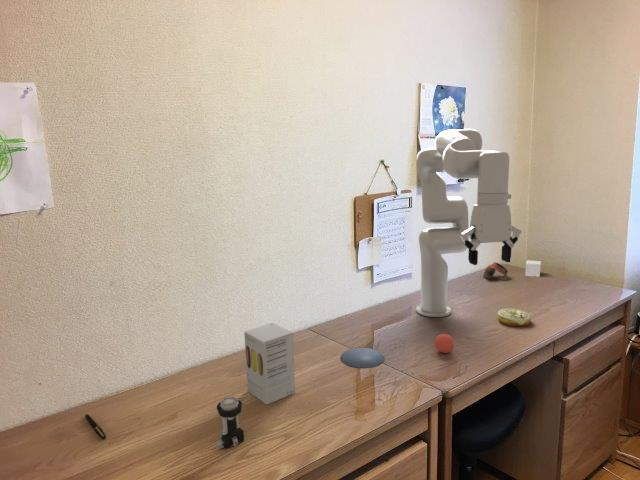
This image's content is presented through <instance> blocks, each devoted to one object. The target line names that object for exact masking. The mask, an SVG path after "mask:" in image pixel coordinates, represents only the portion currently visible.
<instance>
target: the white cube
mask: <svg viewBox="0 0 640 480" xmlns="http://www.w3.org/2000/svg"><path fill="white" fill-rule="evenodd" d="M525 262H526V263H525V275H524V276H526V277H534V276H536V278H539V277H541V265H542V261H541V260H539V261H538V260H531V259H530V260H529V259H527V260H526V261H525Z"/></svg>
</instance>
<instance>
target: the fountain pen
mask: <svg viewBox="0 0 640 480" xmlns="http://www.w3.org/2000/svg"><path fill="white" fill-rule="evenodd" d="M84 416H85V417H84V418H85V419H86V420H87V422H88V423H89V425H91V427H92V428H93V430H94V432H95V433H96V434H97V435H98V436H99V437H100V438H101V439H103V440H105V439H106V438H107V436H106V433H105V432H104V430H103V429H102V427H101V426H100V425H99V424H97V422H96V421H95V419H93V418H92V417H91V416H90V415H89V414H88V413H84Z"/></svg>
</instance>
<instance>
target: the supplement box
mask: <svg viewBox="0 0 640 480" xmlns="http://www.w3.org/2000/svg"><path fill="white" fill-rule="evenodd" d="M243 336H244V350H245V364H246V365H245V369H246V386H247V388H246V389H247V392H249V394H251V395H252V396H254V397H255V398H257V399H258V400H259V401H261V402H262V403H263V404H265V405H269V404H272V403H273V402H276V401H279V400H281V399H283V398H286V397H289V396H290V395H292V394H295V393H296V376H295V375H296V374H295V373H296V371H295V350H294V348H295V347H294V332H293V331H290V330H288V329H286V328H284V327H282V326H280V325H278V324H276V323H274V322H272V323H271V322H270V323H267V324H265V325H262V326H261V325H260V326H258V327H254V328H252V329H251V328H250V329H248V330H244V334H243Z"/></svg>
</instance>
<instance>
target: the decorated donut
mask: <svg viewBox="0 0 640 480" xmlns="http://www.w3.org/2000/svg"><path fill="white" fill-rule="evenodd" d="M531 318H532V315H531V314H529V313H528V312H526V311H524V310H521V309H517V308H502V309H500V310H499V311H497V319H498V321H499V322H500V323H501V324H504V325H507V326H510V327H524V326H525V327H526V326H528V325H530V324H531Z"/></svg>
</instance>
